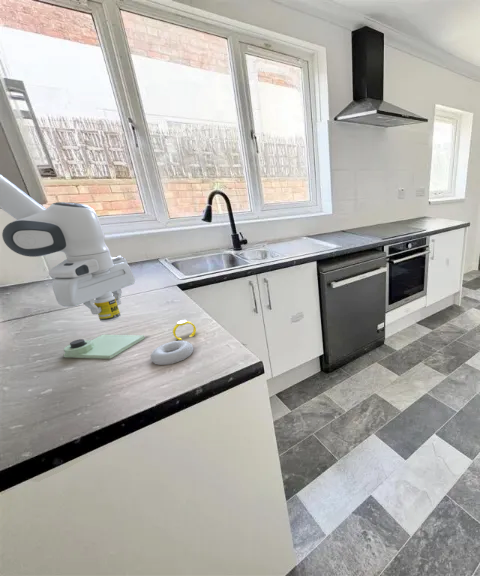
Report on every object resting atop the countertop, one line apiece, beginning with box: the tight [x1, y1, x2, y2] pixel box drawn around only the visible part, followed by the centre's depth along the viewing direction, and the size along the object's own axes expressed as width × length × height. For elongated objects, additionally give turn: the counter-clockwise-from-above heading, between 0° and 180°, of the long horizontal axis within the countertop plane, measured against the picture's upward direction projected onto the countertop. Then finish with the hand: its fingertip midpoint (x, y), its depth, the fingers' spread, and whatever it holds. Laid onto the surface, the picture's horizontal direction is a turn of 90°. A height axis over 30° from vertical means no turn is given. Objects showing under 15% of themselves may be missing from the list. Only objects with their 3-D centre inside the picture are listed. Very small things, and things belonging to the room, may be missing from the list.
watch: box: [172, 319, 197, 341], centre depth 96 cm, size 6×3×6 cm, turn 136°
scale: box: [63, 334, 146, 360], centre depth 92 cm, size 14×12×3 cm
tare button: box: [69, 338, 86, 349], centre depth 88 cm, size 3×3×2 cm
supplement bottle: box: [94, 291, 121, 323], centre depth 89 cm, size 5×5×8 cm
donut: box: [150, 340, 194, 366], centre depth 86 cm, size 10×4×10 cm
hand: (107, 309), depth 90 cm, fingers closed on supplement bottle, 5 cm apart
